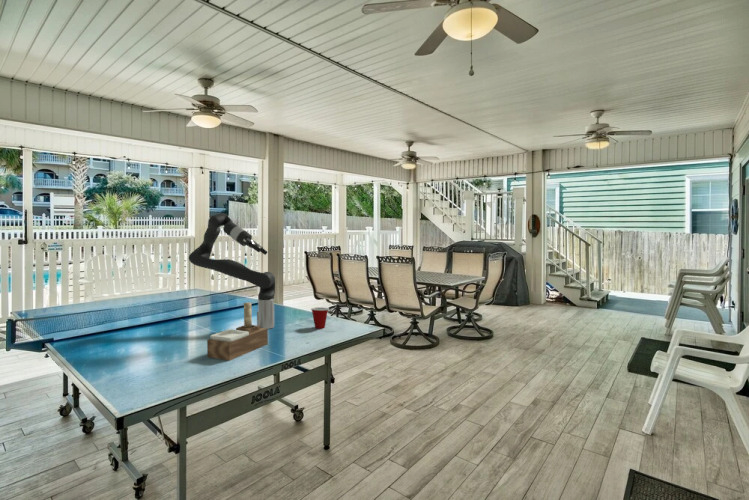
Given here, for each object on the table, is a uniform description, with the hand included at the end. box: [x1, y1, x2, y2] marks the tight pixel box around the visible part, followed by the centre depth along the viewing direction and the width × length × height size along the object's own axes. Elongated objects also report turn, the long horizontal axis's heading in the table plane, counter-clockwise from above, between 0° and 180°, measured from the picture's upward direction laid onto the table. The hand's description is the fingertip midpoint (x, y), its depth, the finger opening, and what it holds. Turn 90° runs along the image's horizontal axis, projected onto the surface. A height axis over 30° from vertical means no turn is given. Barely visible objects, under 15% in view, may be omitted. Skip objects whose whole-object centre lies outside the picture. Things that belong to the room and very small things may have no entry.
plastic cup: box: [310, 306, 330, 330], centre depth 232 cm, size 11×11×12 cm
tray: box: [210, 328, 249, 342], centre depth 182 cm, size 12×12×2 cm
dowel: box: [243, 302, 253, 329], centre depth 194 cm, size 4×4×14 cm
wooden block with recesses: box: [206, 324, 269, 361], centre depth 188 cm, size 13×27×10 cm, turn 158°
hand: (263, 252), depth 209 cm, fingers open, 8 cm apart
